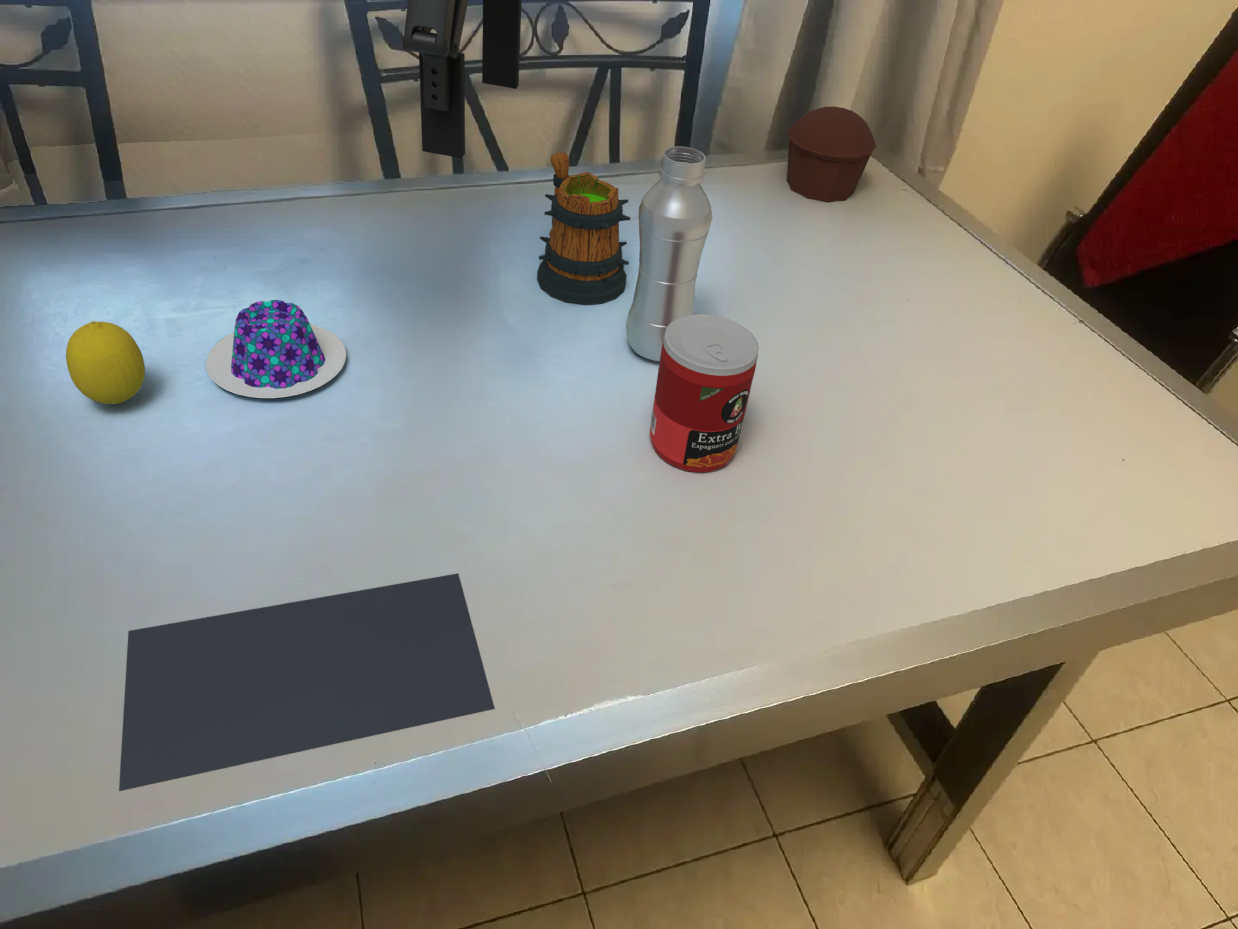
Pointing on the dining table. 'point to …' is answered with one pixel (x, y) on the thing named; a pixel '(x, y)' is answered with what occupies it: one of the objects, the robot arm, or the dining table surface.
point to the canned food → (702, 391)
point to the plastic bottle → (669, 249)
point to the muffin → (828, 153)
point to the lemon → (105, 362)
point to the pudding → (275, 353)
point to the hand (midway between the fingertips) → (474, 116)
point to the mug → (582, 239)
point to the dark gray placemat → (297, 678)
